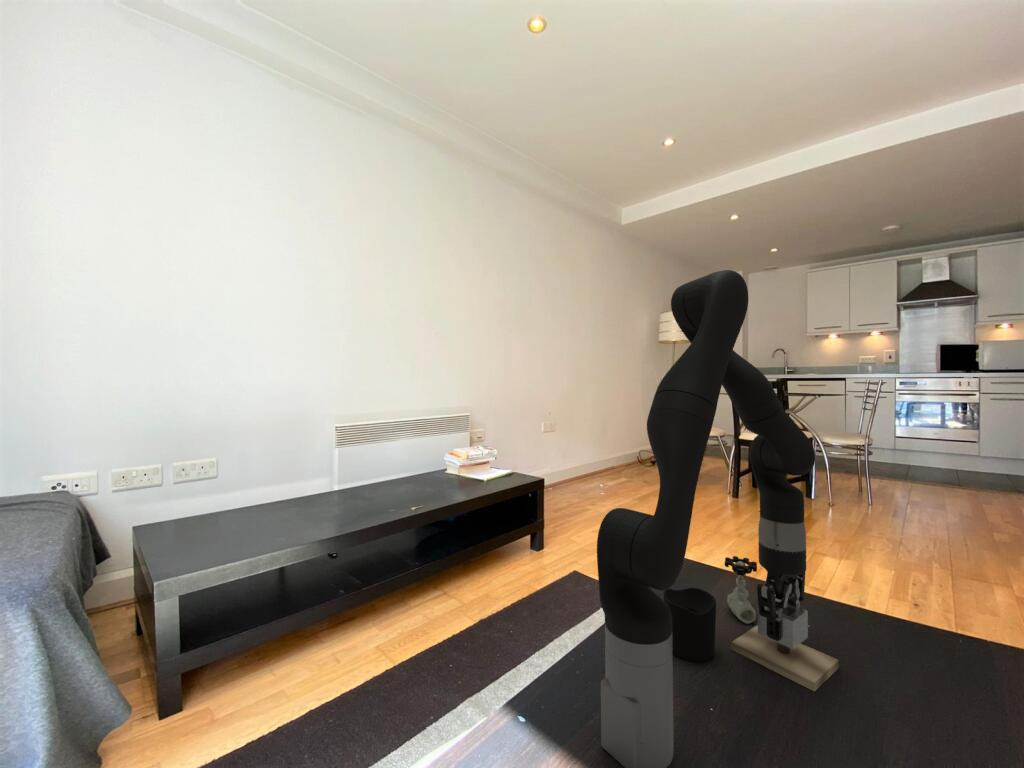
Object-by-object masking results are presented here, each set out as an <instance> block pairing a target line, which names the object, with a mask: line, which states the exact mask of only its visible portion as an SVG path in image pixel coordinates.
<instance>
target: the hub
mask: <svg viewBox="0 0 1024 768" xmlns="http://www.w3.org/2000/svg"><path fill="white" fill-rule="evenodd" d="M775 601H777V602H781V601H782V600H780V599H777V598H775ZM786 609H787V610H788V611H789V616H787V615H784V614H782V617H781V640H779V641H776V640H774V639H771V638H769V637H768V636H767V618H765V617H763V616H760V615H759V606H757V625H758V634H760V635H762V636H764V637H766V638H769V639H771V640H773V641H775V642H778V643H780V644H782V645H784V646H786V647H789V648H791V649H794V648H796V647H797V646H798V645H799V644H800V643H801V644H803V642H804V641H806V640H807V639H808V637H809V628H808V627H809V625H808V624H809V621H808V620H809V615H808V614H809V613H808V610H807V609H805V608H802V607H801V606H800V607H797V606H795V605H792V604H789V603H787V607H786ZM776 612H777V606H776Z"/></svg>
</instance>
